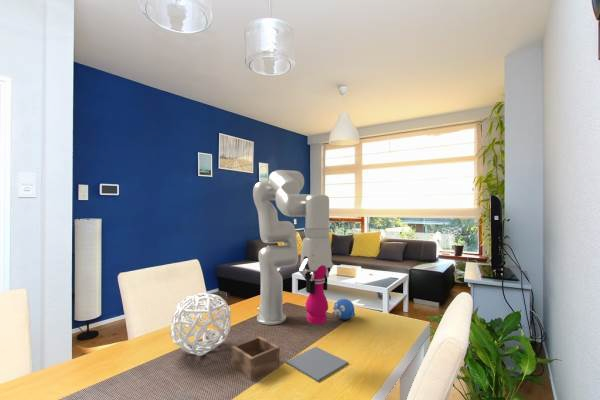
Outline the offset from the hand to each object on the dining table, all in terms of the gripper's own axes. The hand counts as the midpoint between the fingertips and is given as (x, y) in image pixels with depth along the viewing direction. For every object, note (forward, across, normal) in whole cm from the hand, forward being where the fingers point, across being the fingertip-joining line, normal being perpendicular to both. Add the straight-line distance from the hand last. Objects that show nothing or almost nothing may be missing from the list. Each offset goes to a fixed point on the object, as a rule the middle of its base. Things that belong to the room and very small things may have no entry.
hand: (316, 290), depth 97 cm
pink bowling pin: (+10, 0, 0) cm, 10 cm away
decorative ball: (+23, +23, -32) cm, 46 cm away
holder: (+23, +15, -12) cm, 30 cm away
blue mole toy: (+23, -34, -17) cm, 45 cm away
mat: (+23, 0, 0) cm, 23 cm away
